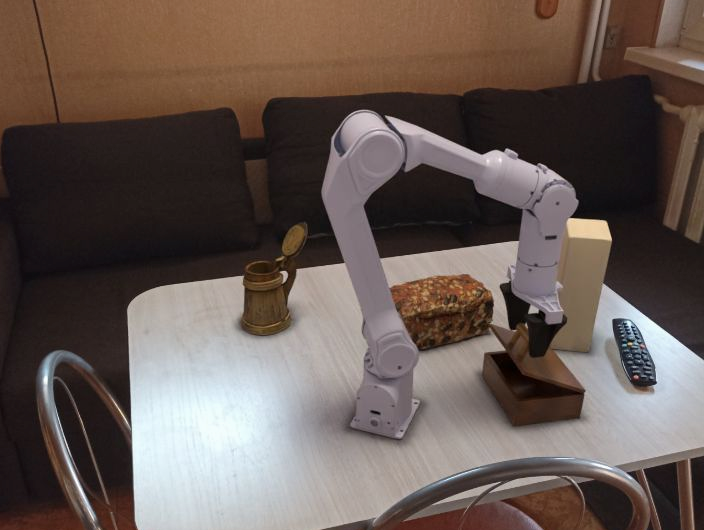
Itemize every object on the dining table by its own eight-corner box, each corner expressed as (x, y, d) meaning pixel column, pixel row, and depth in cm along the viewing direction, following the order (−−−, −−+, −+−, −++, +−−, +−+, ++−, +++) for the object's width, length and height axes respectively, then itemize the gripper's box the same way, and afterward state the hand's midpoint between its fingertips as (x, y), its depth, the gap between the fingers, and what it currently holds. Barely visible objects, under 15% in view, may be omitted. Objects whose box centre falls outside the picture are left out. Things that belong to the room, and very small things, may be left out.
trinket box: (513, 426, 102) (516, 402, 100) (481, 374, 113) (484, 352, 111) (580, 417, 103) (584, 394, 101) (542, 367, 115) (545, 345, 113)
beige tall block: (593, 353, 118) (617, 239, 108) (549, 349, 119) (567, 236, 109) (589, 330, 125) (610, 220, 114) (547, 326, 126) (564, 217, 116)
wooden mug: (321, 321, 129) (318, 230, 120) (252, 340, 123) (244, 246, 114) (300, 300, 136) (296, 213, 126) (234, 318, 130) (225, 228, 121)
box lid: (522, 374, 97) (537, 351, 96) (488, 326, 109) (501, 305, 107) (584, 393, 101) (599, 371, 100) (544, 345, 113) (558, 324, 111)
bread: (399, 358, 118) (400, 306, 113) (372, 328, 126) (373, 279, 121) (493, 335, 124) (499, 285, 119) (462, 308, 132) (466, 260, 127)
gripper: (590, 278, 91) (574, 365, 97) (543, 235, 103) (531, 315, 110) (539, 283, 90) (526, 371, 96) (497, 239, 102) (489, 319, 109)
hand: (526, 341), depth 103 cm, fingers open, 7 cm apart
